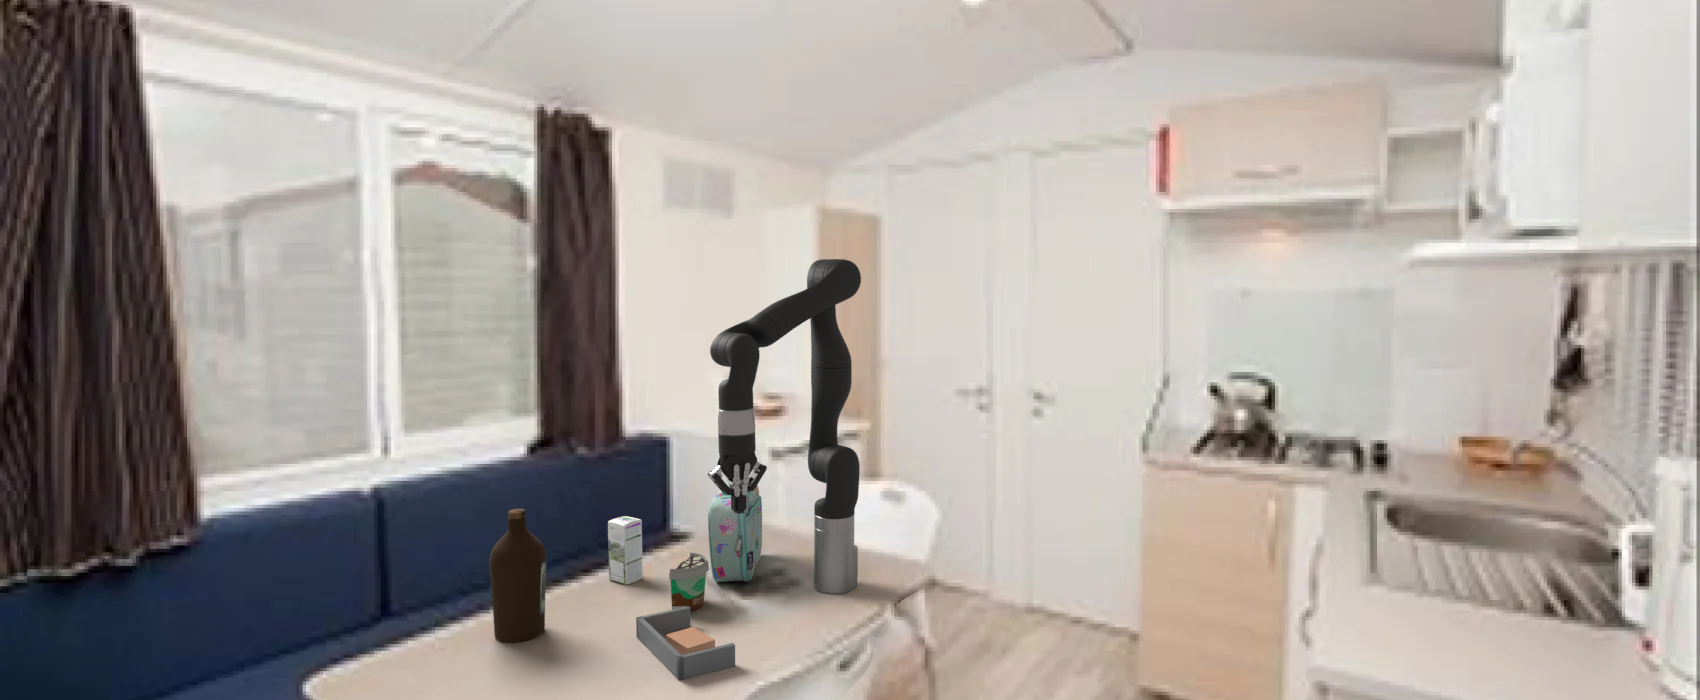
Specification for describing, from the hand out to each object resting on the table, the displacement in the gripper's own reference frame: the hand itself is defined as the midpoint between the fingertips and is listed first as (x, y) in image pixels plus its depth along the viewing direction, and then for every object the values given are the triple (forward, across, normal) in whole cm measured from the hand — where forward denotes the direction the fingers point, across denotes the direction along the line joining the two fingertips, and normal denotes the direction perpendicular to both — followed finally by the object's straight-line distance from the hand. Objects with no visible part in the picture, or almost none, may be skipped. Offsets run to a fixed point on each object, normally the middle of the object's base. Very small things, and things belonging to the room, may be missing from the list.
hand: (738, 512), depth 181 cm
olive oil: (+22, +40, -18) cm, 49 cm away
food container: (+23, +5, -12) cm, 26 cm away
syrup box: (+23, +12, -36) cm, 44 cm away
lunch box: (+23, -13, -27) cm, 38 cm away
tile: (+23, +15, +9) cm, 29 cm away
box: (+22, +16, +8) cm, 29 cm away
